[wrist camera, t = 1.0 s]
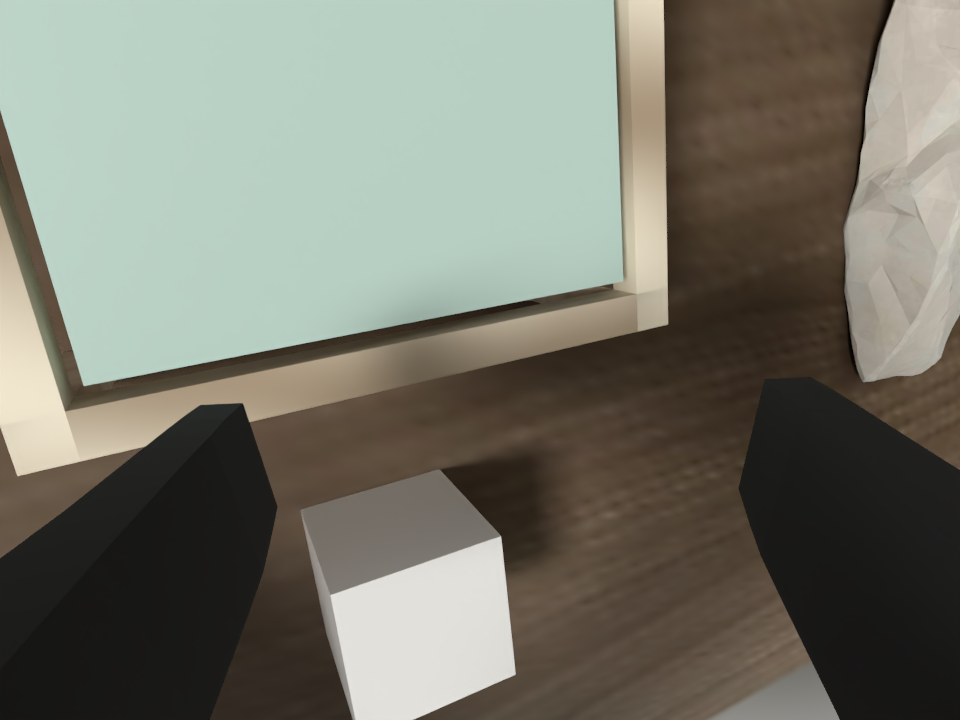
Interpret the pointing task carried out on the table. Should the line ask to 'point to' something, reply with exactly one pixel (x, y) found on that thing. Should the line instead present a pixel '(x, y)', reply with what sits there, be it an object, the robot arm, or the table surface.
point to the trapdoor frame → (357, 364)
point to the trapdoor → (307, 165)
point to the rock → (907, 196)
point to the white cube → (410, 596)
